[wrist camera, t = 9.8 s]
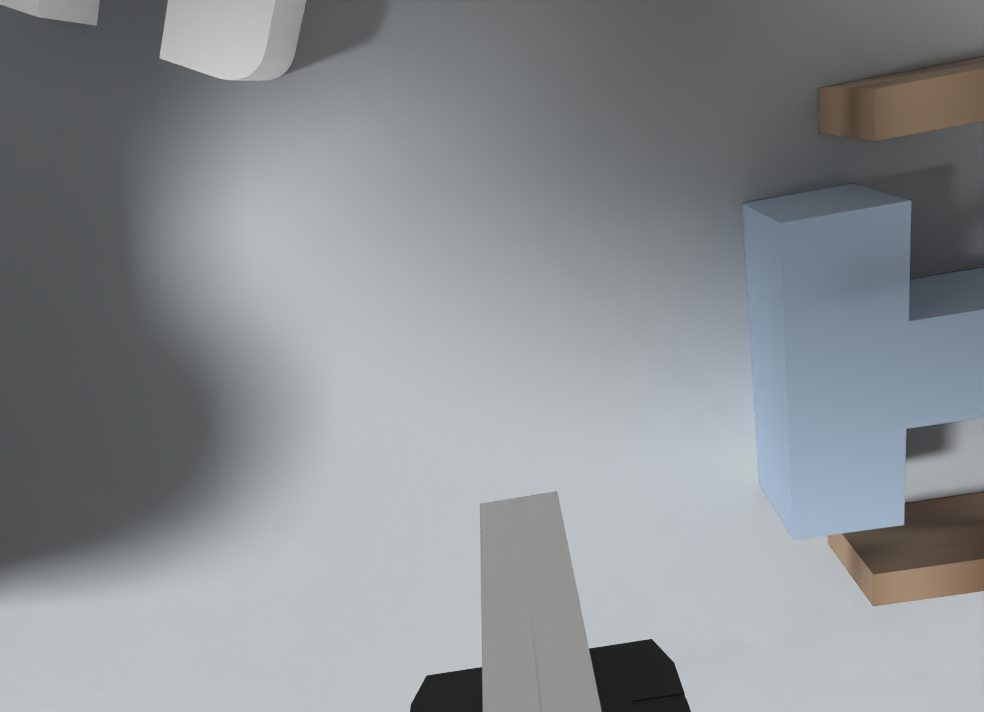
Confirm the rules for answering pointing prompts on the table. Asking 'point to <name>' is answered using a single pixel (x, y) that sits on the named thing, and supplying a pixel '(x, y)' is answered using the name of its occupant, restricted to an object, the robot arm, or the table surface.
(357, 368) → the table surface
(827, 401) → the t block
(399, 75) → the table surface
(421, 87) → the table surface
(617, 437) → the table surface
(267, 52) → the white slotted block
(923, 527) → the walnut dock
